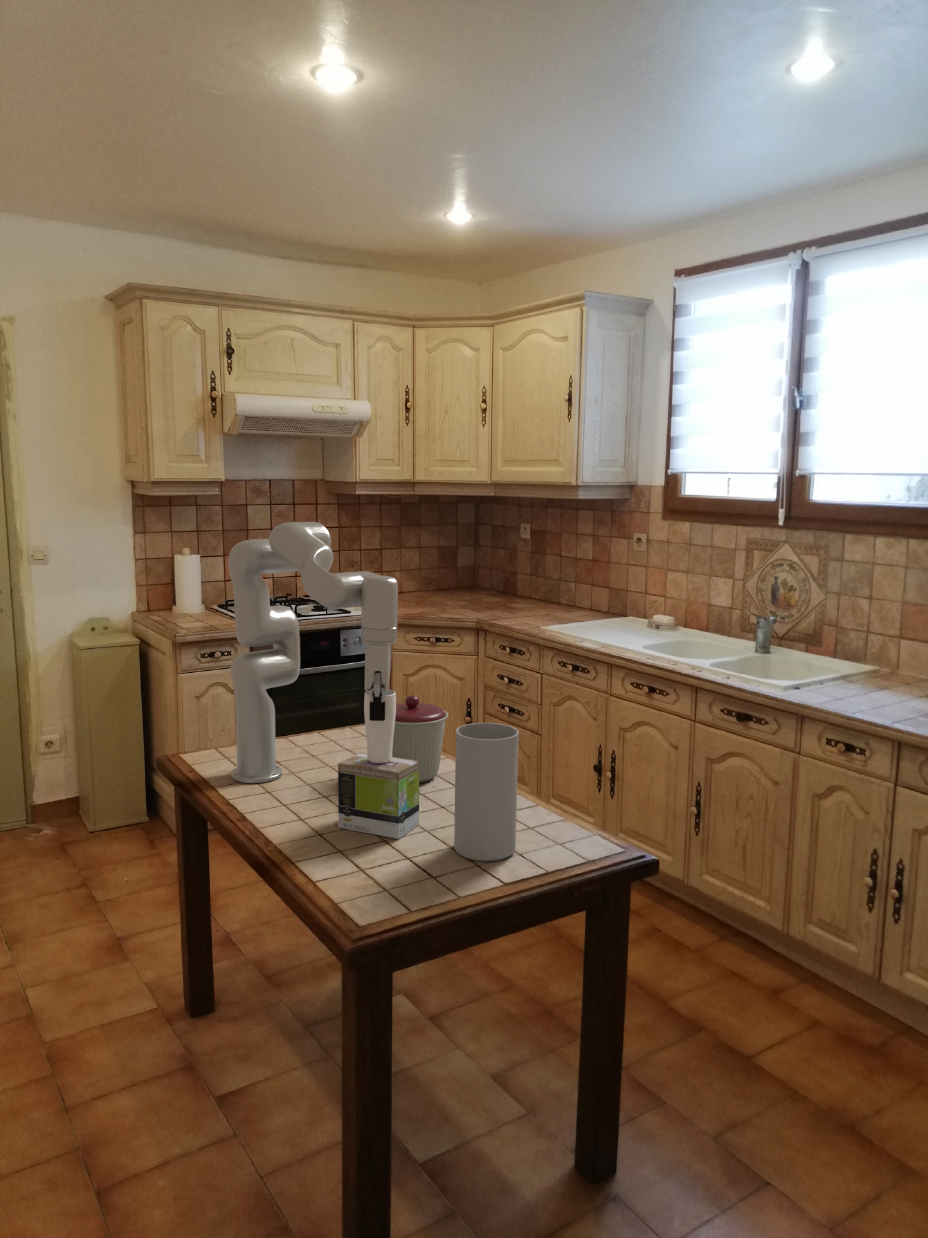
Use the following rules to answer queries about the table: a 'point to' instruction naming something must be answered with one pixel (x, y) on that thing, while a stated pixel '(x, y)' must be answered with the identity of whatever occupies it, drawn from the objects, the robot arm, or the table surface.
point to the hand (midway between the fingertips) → (378, 714)
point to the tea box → (378, 796)
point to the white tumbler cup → (380, 729)
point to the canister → (419, 735)
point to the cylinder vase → (486, 791)
